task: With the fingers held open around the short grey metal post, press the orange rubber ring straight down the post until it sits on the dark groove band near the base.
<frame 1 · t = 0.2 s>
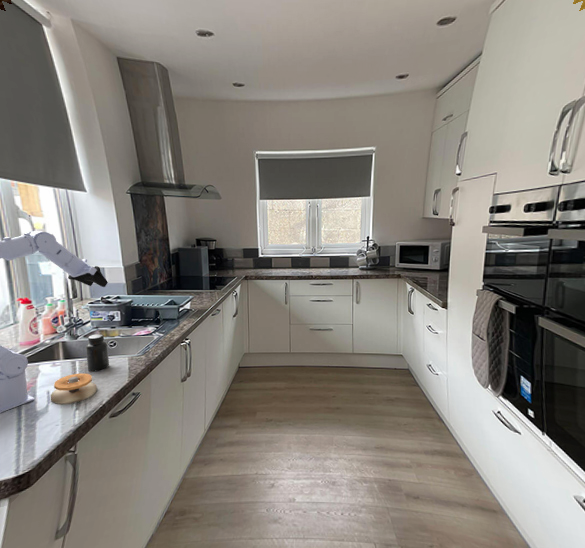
hand: (98, 284, 119), 31 cm above the table, tool tilted 45°, fingers open, 7 cm apart
supplement bottle: (98, 368, 125), on the table
rubber ring: (73, 381, 106), point 4 cm above the table, slide at 0.0 cm
post stand: (74, 393, 106), on the table
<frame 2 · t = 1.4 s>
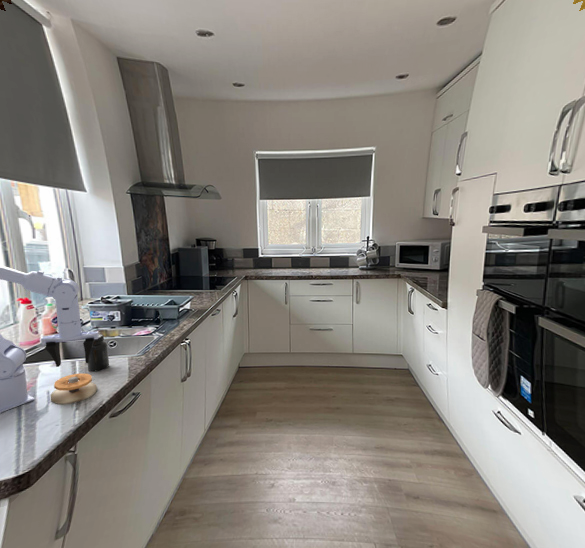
hand: (73, 363, 105), 10 cm above the table, tool pointing down, fingers open, 7 cm apart
nothing on the table moved.
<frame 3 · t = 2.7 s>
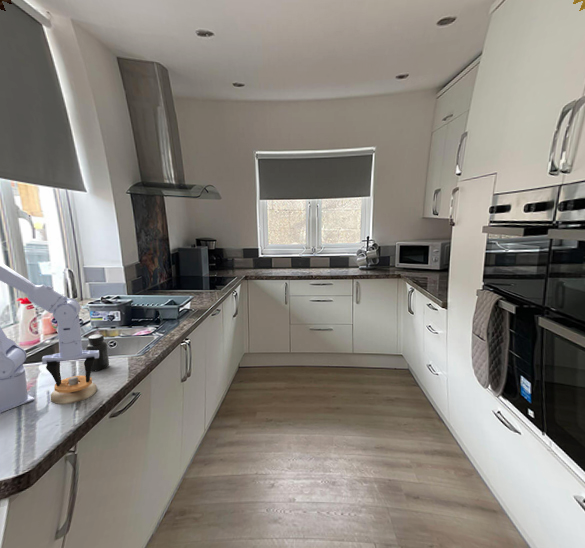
hand: (73, 382, 106), 4 cm above the table, tool pointing down, fingers open, 7 cm apart
rubber ring: (73, 383, 106), point 3 cm above the table, slide at 0.7 cm, touching gripper
everything else where it was.
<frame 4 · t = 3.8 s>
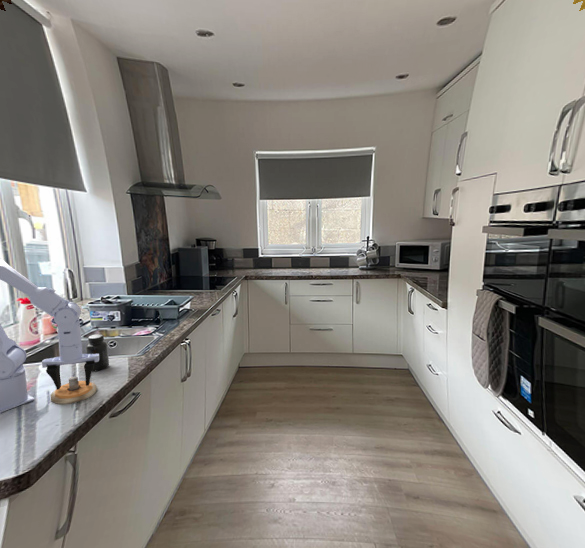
hand: (73, 386, 106), 3 cm above the table, tool pointing down, fingers open, 7 cm apart
rubber ring: (74, 389, 106), point 1 cm above the table, slide at 2.5 cm
everything else where it was.
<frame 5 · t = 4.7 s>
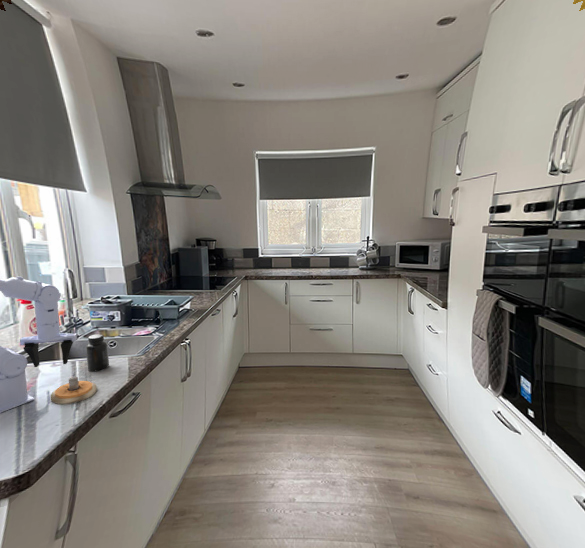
hand: (51, 364, 108), 8 cm above the table, tool pointing down, fingers open, 7 cm apart
nothing on the table moved.
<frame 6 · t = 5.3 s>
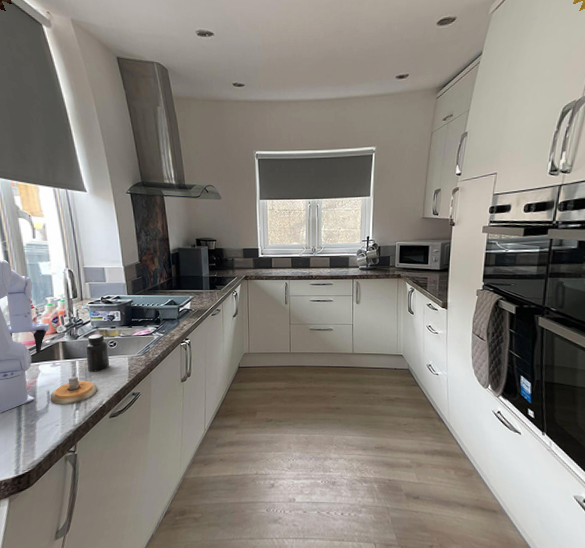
hand: (24, 353, 113), 9 cm above the table, tool pointing down, fingers open, 7 cm apart
nothing on the table moved.
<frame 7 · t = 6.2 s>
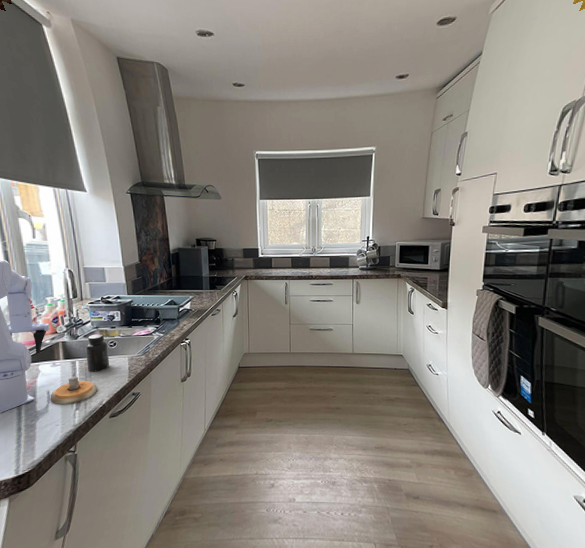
hand: (24, 353, 113), 9 cm above the table, tool pointing down, fingers open, 7 cm apart
nothing on the table moved.
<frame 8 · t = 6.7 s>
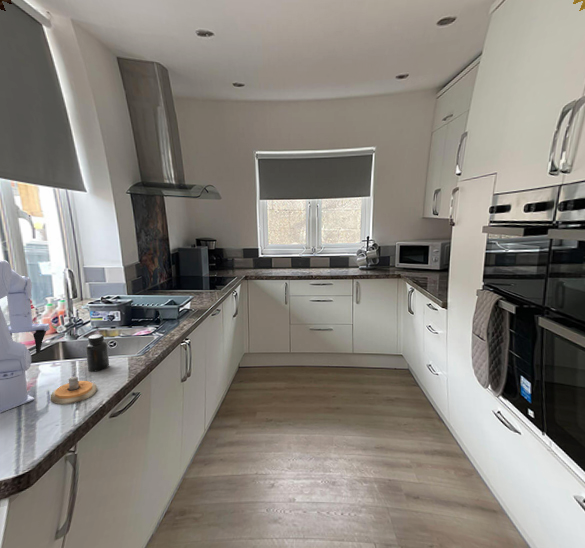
hand: (24, 353, 113), 9 cm above the table, tool pointing down, fingers open, 7 cm apart
nothing on the table moved.
at the end: rubber ring slide at 2.5 cm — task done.
